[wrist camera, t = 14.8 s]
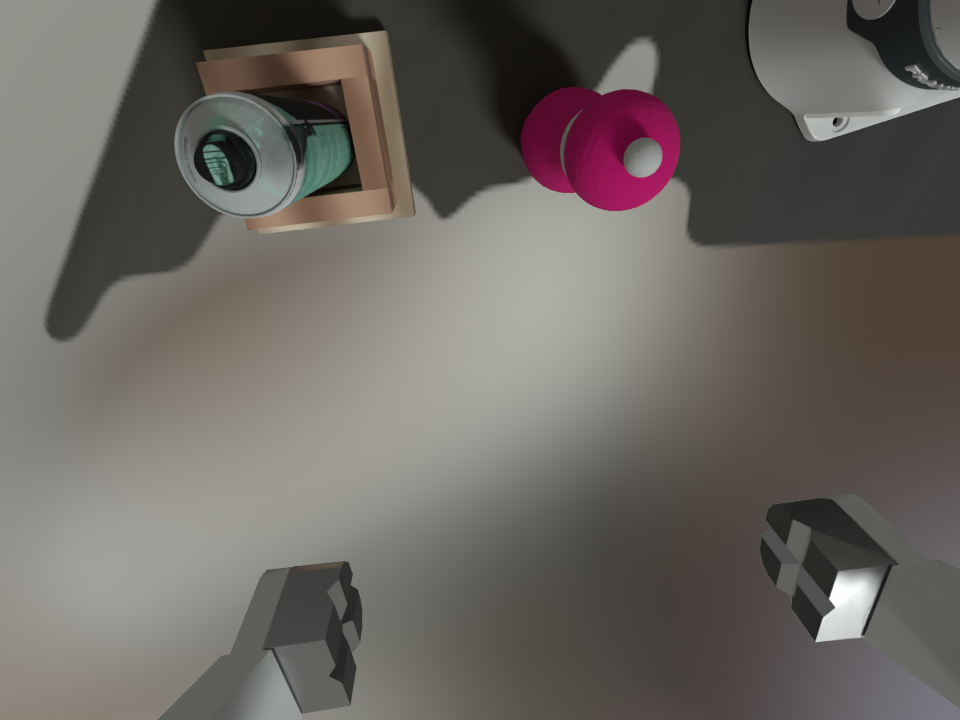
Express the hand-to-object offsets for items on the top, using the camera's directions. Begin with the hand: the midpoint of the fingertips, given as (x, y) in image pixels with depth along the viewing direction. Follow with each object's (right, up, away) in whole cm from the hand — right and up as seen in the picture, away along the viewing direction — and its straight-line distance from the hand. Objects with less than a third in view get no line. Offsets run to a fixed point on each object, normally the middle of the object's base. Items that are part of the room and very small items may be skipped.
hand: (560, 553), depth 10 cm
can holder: (-14, +21, +30) cm, 39 cm away
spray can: (-14, +21, +29) cm, 38 cm away
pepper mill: (+5, +22, +31) cm, 38 cm away
